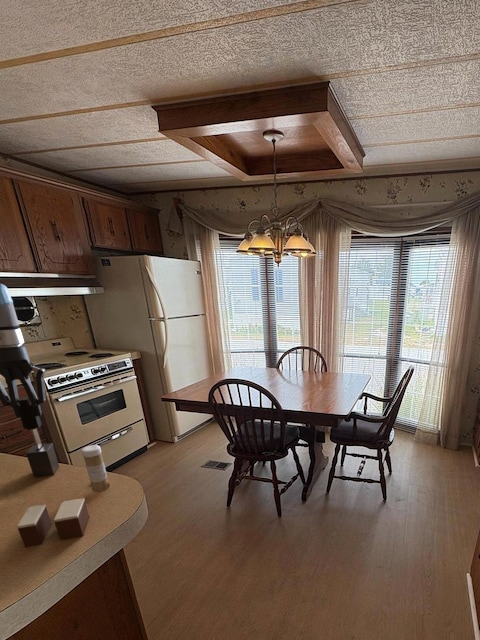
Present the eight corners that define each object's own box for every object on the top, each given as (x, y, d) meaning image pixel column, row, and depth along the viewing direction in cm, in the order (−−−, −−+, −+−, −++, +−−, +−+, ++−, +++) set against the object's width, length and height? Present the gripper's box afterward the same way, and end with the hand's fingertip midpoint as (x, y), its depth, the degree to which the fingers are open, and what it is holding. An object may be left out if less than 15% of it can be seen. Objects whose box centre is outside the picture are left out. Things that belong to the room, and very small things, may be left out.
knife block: (41, 473, 109) (32, 445, 105) (60, 471, 111) (52, 443, 107) (35, 482, 104) (25, 453, 100) (55, 479, 106) (46, 450, 102)
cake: (68, 521, 88) (62, 501, 85) (89, 517, 90) (84, 497, 87) (60, 540, 81) (53, 519, 79) (83, 536, 83) (77, 515, 80)
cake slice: (36, 526, 85) (29, 506, 83) (51, 524, 86) (45, 504, 84) (24, 547, 79) (16, 526, 76) (42, 544, 80) (34, 523, 77)
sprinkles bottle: (98, 484, 104) (87, 444, 99) (113, 484, 104) (103, 444, 99) (88, 492, 100) (77, 451, 95) (104, 492, 100) (93, 451, 95)
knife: (41, 459, 106) (21, 397, 98) (49, 458, 107) (30, 397, 99) (38, 463, 103) (17, 400, 96) (46, 462, 104) (26, 399, 97)
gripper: (-37, 348, 86) (-5, 434, 95) (37, 346, 91) (60, 428, 100) (-23, 344, 92) (5, 425, 101) (45, 342, 98) (66, 419, 107)
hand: (33, 426), depth 101 cm, fingers closed on knife, 2 cm apart
